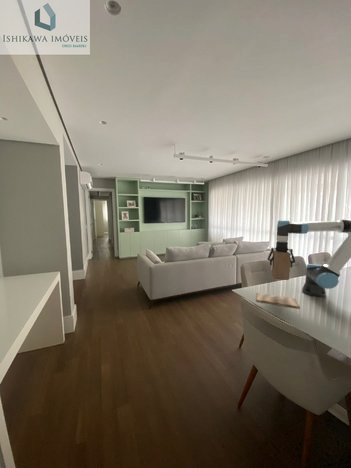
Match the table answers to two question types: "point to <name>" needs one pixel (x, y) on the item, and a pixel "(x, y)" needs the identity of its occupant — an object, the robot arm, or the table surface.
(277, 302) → the board
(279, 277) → the block
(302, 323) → the table surface
